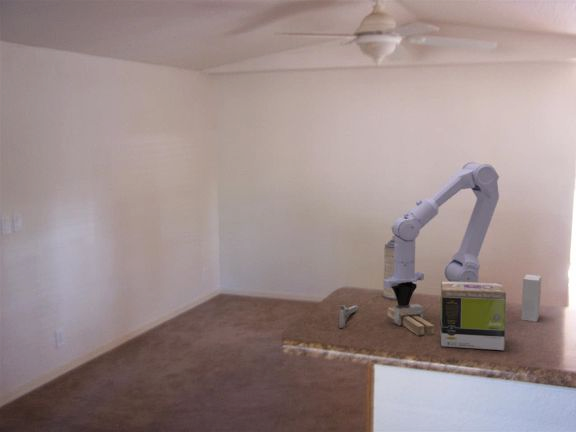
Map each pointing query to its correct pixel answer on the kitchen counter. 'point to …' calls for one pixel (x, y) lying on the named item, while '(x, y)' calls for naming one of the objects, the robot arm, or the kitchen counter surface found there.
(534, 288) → the skincare box
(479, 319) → the tea box
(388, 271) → the cream cylinder
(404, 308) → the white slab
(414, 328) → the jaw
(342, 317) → the caliper
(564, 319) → the kitchen counter surface
